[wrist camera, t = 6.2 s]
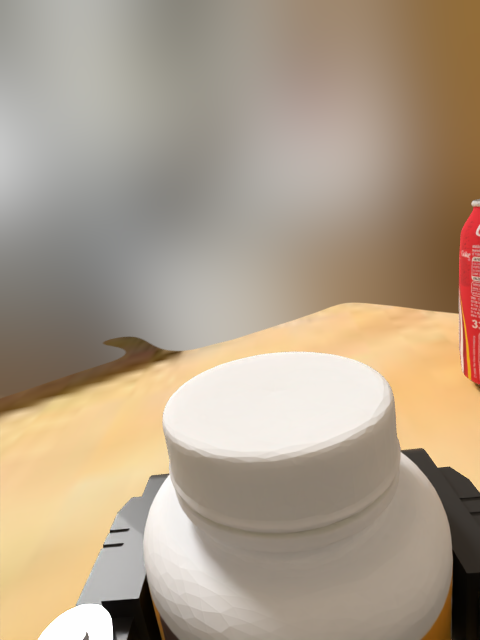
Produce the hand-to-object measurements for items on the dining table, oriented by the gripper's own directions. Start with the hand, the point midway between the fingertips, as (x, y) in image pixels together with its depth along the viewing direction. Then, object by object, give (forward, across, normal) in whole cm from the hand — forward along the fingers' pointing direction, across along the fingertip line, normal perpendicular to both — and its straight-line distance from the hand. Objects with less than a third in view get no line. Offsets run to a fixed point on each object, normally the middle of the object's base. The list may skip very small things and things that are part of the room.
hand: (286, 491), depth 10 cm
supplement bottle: (-3, 0, +6) cm, 7 cm away
